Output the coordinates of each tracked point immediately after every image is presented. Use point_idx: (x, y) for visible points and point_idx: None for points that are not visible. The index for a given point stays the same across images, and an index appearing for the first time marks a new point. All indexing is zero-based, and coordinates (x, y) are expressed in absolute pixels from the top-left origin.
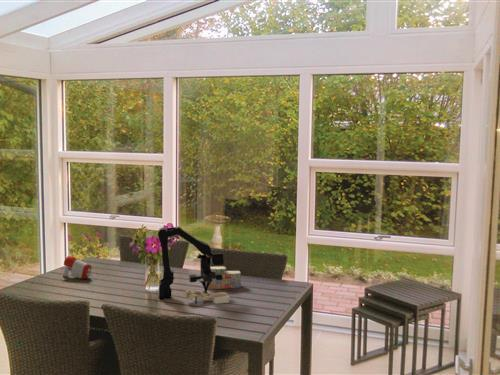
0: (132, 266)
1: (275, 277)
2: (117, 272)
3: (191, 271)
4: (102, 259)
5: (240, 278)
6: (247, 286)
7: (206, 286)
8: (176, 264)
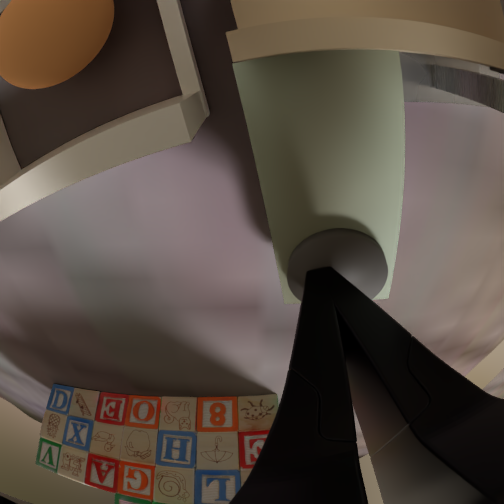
0: None
1: (28, 414)
2: None
3: None
4: None
5: (40, 435)
6: (40, 388)
7: (346, 369)
8: None
